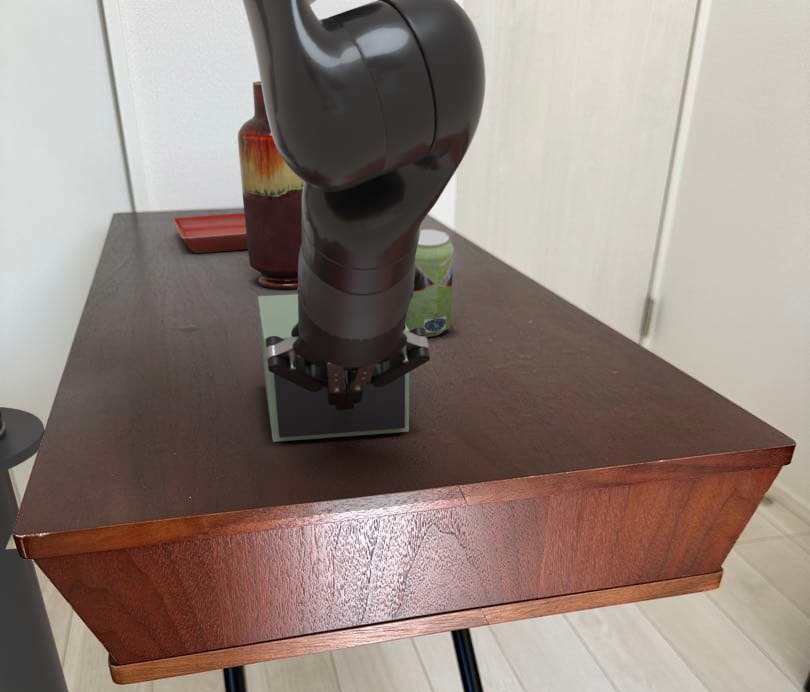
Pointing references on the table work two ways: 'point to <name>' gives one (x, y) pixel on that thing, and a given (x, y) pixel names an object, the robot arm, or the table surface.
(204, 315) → the table surface
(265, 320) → the cabinet
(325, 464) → the table surface
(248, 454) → the table surface
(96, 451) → the table surface
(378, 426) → the drawer
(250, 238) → the vase
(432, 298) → the beverage can
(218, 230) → the plant saucer
